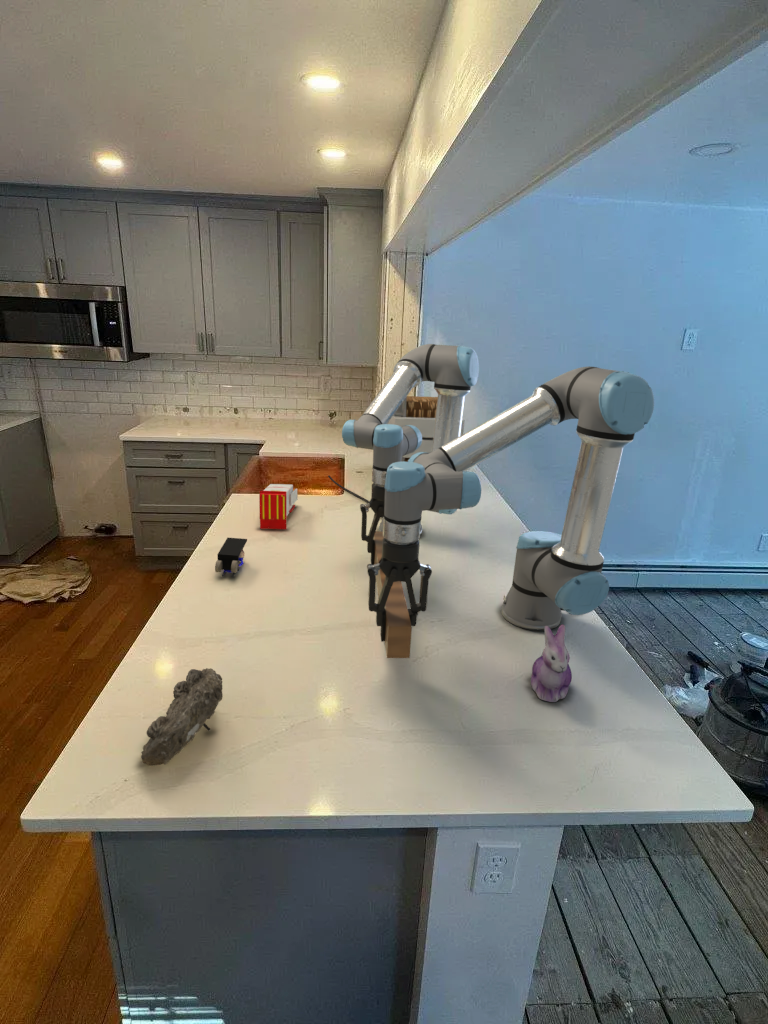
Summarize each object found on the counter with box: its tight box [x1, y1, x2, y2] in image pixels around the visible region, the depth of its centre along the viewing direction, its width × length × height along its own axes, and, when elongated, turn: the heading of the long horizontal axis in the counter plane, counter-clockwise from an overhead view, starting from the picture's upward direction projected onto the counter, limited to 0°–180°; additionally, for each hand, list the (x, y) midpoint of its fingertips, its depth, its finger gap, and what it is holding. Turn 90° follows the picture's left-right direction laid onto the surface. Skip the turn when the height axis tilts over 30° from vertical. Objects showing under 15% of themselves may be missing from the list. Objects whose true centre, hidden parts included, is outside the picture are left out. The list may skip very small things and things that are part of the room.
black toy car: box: [214, 537, 248, 578], centre depth 166 cm, size 7×8×15 cm
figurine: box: [530, 624, 573, 703], centre depth 118 cm, size 9×10×15 cm
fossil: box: [140, 667, 224, 767], centre depth 103 cm, size 22×10×15 cm
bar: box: [373, 530, 413, 659], centre depth 140 cm, size 52×5×8 cm, turn 4°
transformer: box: [388, 395, 465, 462], centre depth 268 cm, size 34×33×41 cm
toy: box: [258, 483, 299, 530], centre depth 210 cm, size 12×13×30 cm
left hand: (382, 562), depth 159 cm, fingers closed on bar, 5 cm apart
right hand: (395, 637), depth 123 cm, fingers closed on bar, 5 cm apart
